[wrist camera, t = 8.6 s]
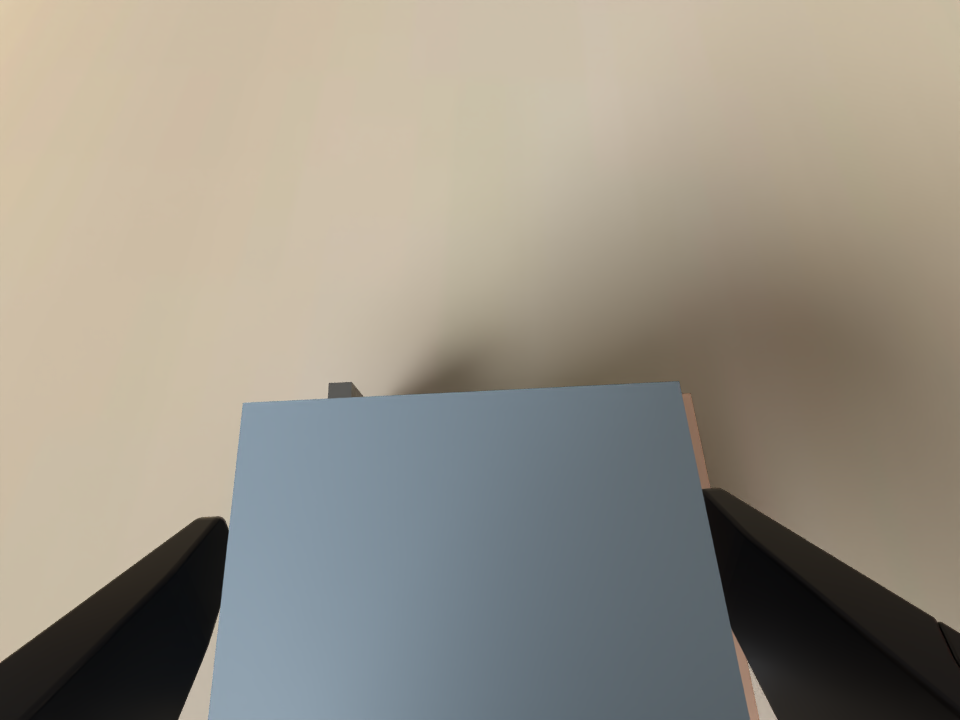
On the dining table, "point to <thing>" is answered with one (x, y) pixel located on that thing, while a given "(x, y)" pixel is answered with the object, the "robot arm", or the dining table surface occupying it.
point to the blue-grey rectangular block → (473, 561)
